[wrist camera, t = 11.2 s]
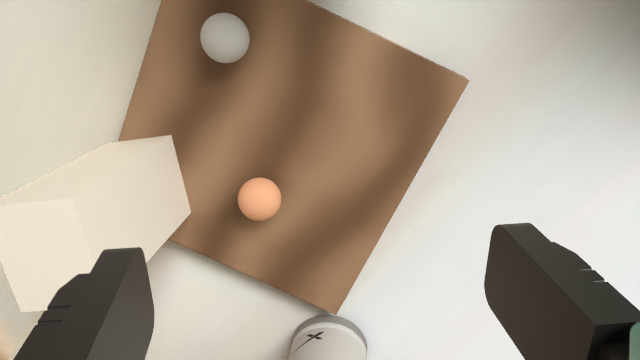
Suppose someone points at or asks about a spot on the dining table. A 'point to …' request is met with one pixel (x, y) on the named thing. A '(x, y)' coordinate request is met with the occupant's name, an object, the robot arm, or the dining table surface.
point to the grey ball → (224, 37)
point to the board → (290, 136)
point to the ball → (259, 199)
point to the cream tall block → (89, 215)
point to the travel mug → (328, 340)
